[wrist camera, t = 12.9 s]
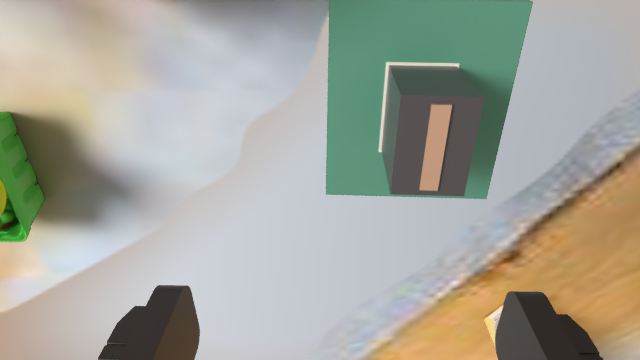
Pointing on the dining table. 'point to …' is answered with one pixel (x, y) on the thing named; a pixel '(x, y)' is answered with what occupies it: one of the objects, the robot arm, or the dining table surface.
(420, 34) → the header board
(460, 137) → the block
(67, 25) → the dining table surface
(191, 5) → the dining table surface
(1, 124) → the fruit basket
